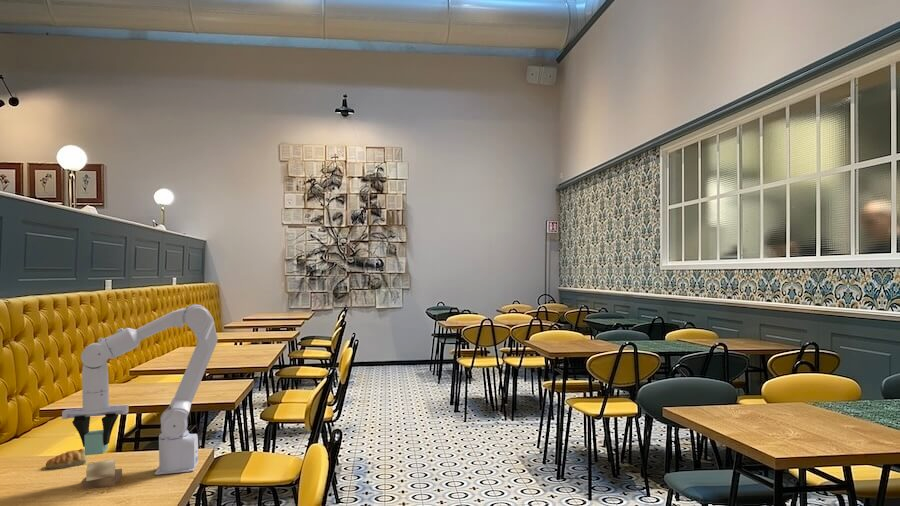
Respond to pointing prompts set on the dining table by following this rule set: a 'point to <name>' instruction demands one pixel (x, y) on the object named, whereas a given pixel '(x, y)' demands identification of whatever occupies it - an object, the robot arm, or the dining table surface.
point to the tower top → (100, 470)
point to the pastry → (67, 459)
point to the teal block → (94, 443)
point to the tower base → (102, 481)
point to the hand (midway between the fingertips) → (96, 444)
